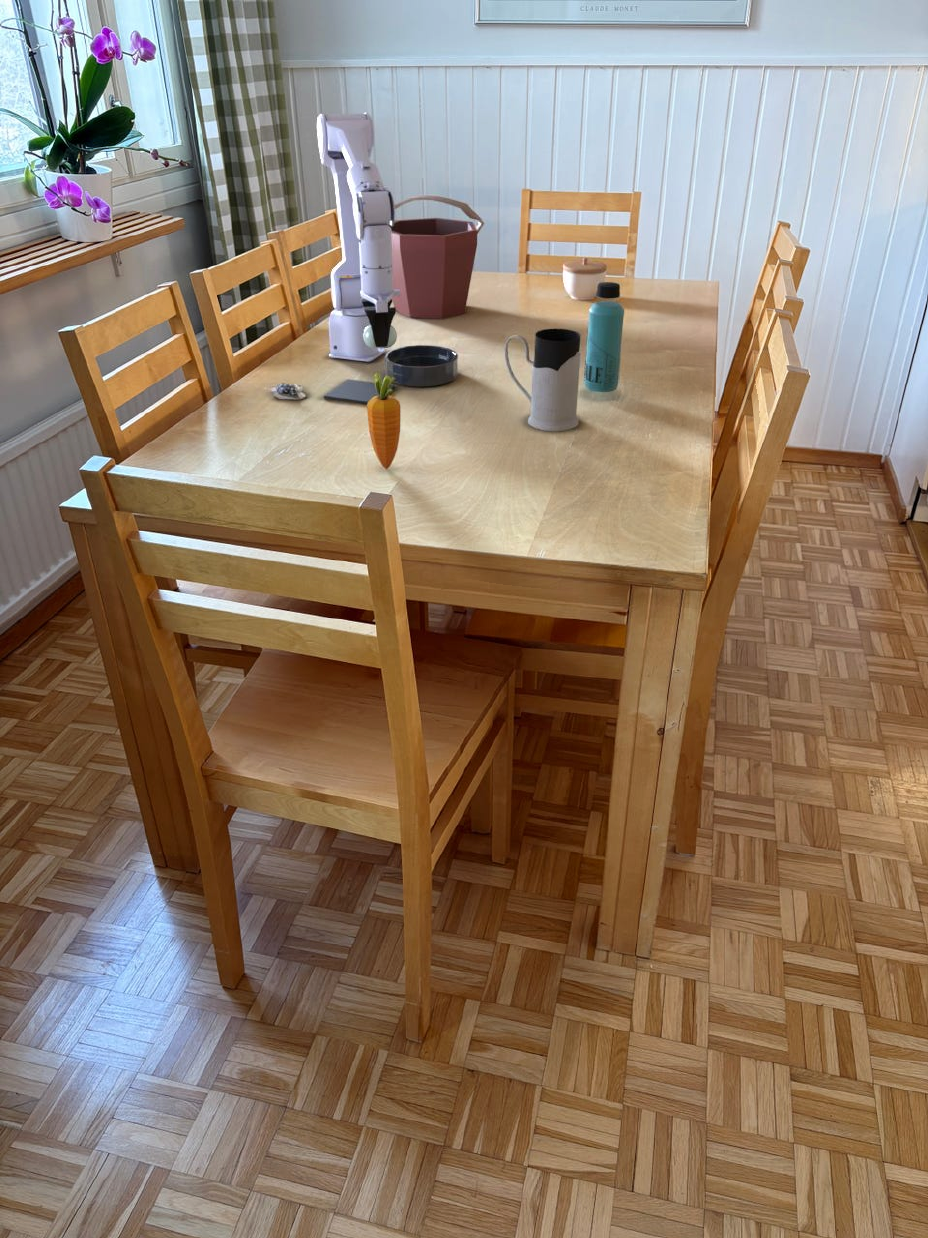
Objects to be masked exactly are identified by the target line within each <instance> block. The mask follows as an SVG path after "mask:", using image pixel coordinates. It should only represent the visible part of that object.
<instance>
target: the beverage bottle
mask: <svg viewBox="0 0 928 1238" xmlns="http://www.w3.org/2000/svg"><path fill="white" fill-rule="evenodd" d="M595 297H597V298H600V299H605V300H599V301H596V302H594V303H593V304H592V305H591V306H590V307H589V310H588V325H587V327H588V328H587V329H586V331H587V334H586V335H587V336H586V337H587V338H586V353H585V361H584V366H585V367H584V374H583V384H584V388H586V389H587V390H589V391H592V392H597V393H610V392H614V391H616V390H617V389H618V386H619V379H620V372H621V370H620V367H621V356H622V352H623V351H622V338H623V327H624V318H625V317H624V316H625V313H626V312H625V308H624V307H623V306H622V305H621V303H619V302H618V301H615V300H611V299H617V298H620V297H621V285H620V283H617V282H614V281H613V282H612V281H605V282H602V283H599V284H598V286H597V292H596V296H595ZM607 299H608V300H607ZM609 299H610V300H609Z"/></svg>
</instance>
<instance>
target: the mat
mask: <svg viewBox="0 0 928 1238" xmlns="http://www.w3.org/2000/svg"><path fill="white" fill-rule="evenodd" d="M381 386H382V383H381ZM388 389H392V390H393V391H394V390H395V389H397V386H396V385H395V384H390V386H389V388H388ZM375 396H378V393H377V390H376V387H375V382H372V381H364V380H356V379H349V378H348V379H346V380H344V381H343V382H342V383H340V384H338V385H337V386H336V387H334V388H333V389H331V391H329V392H327V393H326V394H324V395H323V399H326V400H332V401H339V402H340V401H342V402H349V403H355V404H364V405H367V404H368V402H369V401H370V400H371V399H372V398H373V397H375Z"/></svg>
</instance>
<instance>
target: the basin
mask: <svg viewBox="0 0 928 1238" xmlns="http://www.w3.org/2000/svg"><path fill="white" fill-rule="evenodd" d="M384 370H385V371H384V374H385V376H390V379H391V378H392V377H394V378H395V380H394V381H393V382H392V383H395V384H398V385H401V386H406V387H413V388H415V387H416V388H429V387H434V386H435V387H436V386H440V385H441V386H442V385H444V384H447V383H450V382H452V381H454V380H455V379H457V377H458V375H459V354H458V353H457V352H456V351H455V350H452V349H450V348H448V347H444V346H439V345H429V344H428V345H426V344H421V345H420V344H418V345H417V344H416V345H407V346H402V347H401V346H400V347H397V348H394V349H391V350H389V351H388V352H386V353H385V355H384Z"/></svg>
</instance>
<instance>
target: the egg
mask: <svg viewBox="0 0 928 1238" xmlns="http://www.w3.org/2000/svg"><path fill="white" fill-rule="evenodd" d="M363 339H364V342H365V343H366V345H367V346H369V347H370V348H373V349H380V348H381V349H390V348H391V347H393V346H394V345H395V343H396V342H397V339H398V334H397V330H396V328H395V327H394V326H393V325H392V324H391V327H390V333H389V340H388V345H387V347H376V345H375V342H374V338H373V333H372V328H371V325H369V326H367V327H366V329H365V330H364V333H363Z"/></svg>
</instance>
